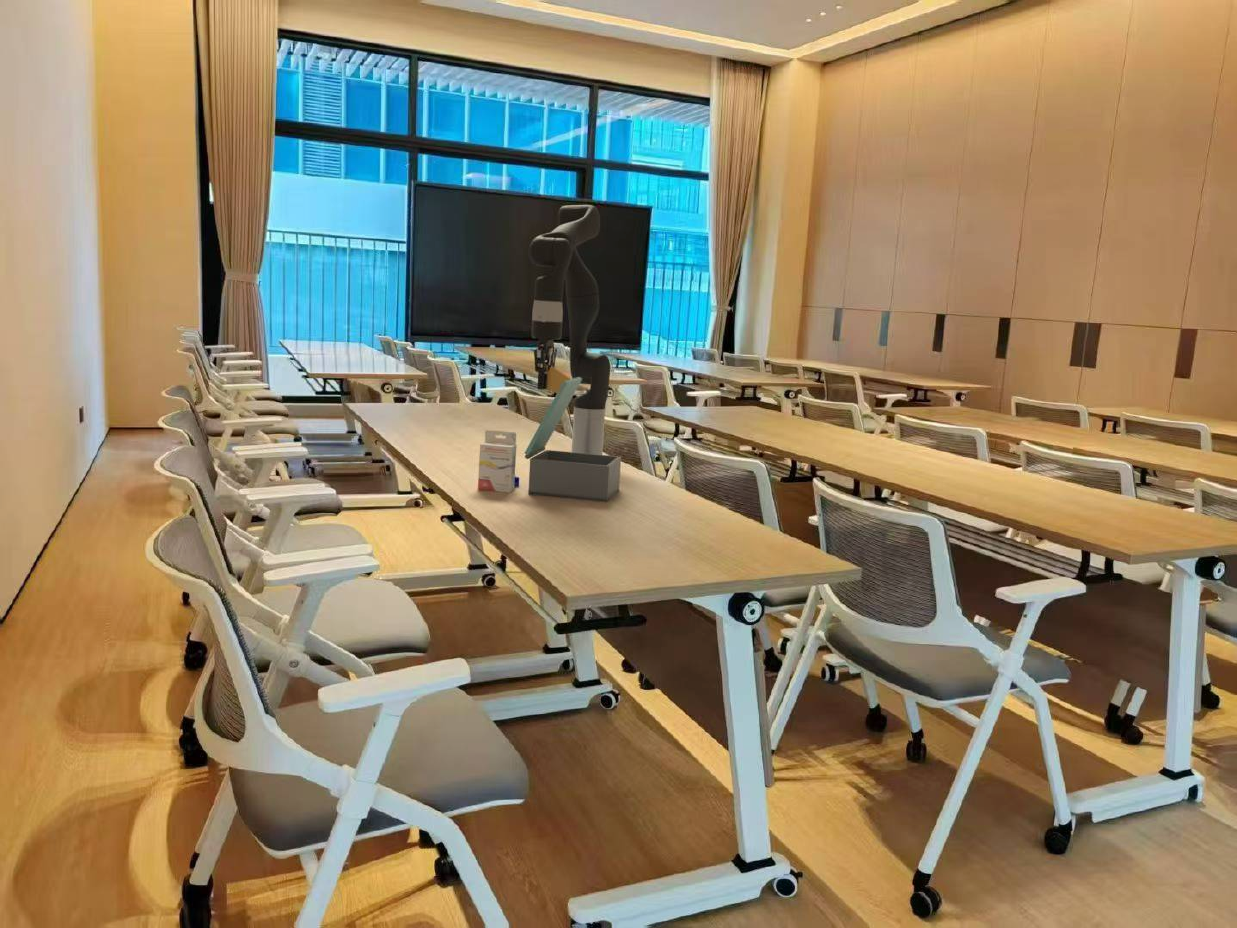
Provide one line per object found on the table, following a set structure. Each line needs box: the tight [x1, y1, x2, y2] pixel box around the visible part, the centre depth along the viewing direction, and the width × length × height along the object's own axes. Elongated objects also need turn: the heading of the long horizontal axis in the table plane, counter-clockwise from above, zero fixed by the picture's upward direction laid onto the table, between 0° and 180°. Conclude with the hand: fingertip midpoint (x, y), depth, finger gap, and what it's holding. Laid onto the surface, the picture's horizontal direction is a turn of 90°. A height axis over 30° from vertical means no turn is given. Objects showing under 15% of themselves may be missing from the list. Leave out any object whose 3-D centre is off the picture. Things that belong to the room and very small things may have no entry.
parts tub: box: [528, 449, 622, 503], centre depth 239 cm, size 16×20×9 cm
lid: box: [524, 366, 582, 460], centre depth 238 cm, size 17×22×8 cm
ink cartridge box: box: [477, 429, 517, 493], centre depth 236 cm, size 9×5×15 cm, turn 84°
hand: (543, 388), depth 237 cm, fingers open, 3 cm apart
